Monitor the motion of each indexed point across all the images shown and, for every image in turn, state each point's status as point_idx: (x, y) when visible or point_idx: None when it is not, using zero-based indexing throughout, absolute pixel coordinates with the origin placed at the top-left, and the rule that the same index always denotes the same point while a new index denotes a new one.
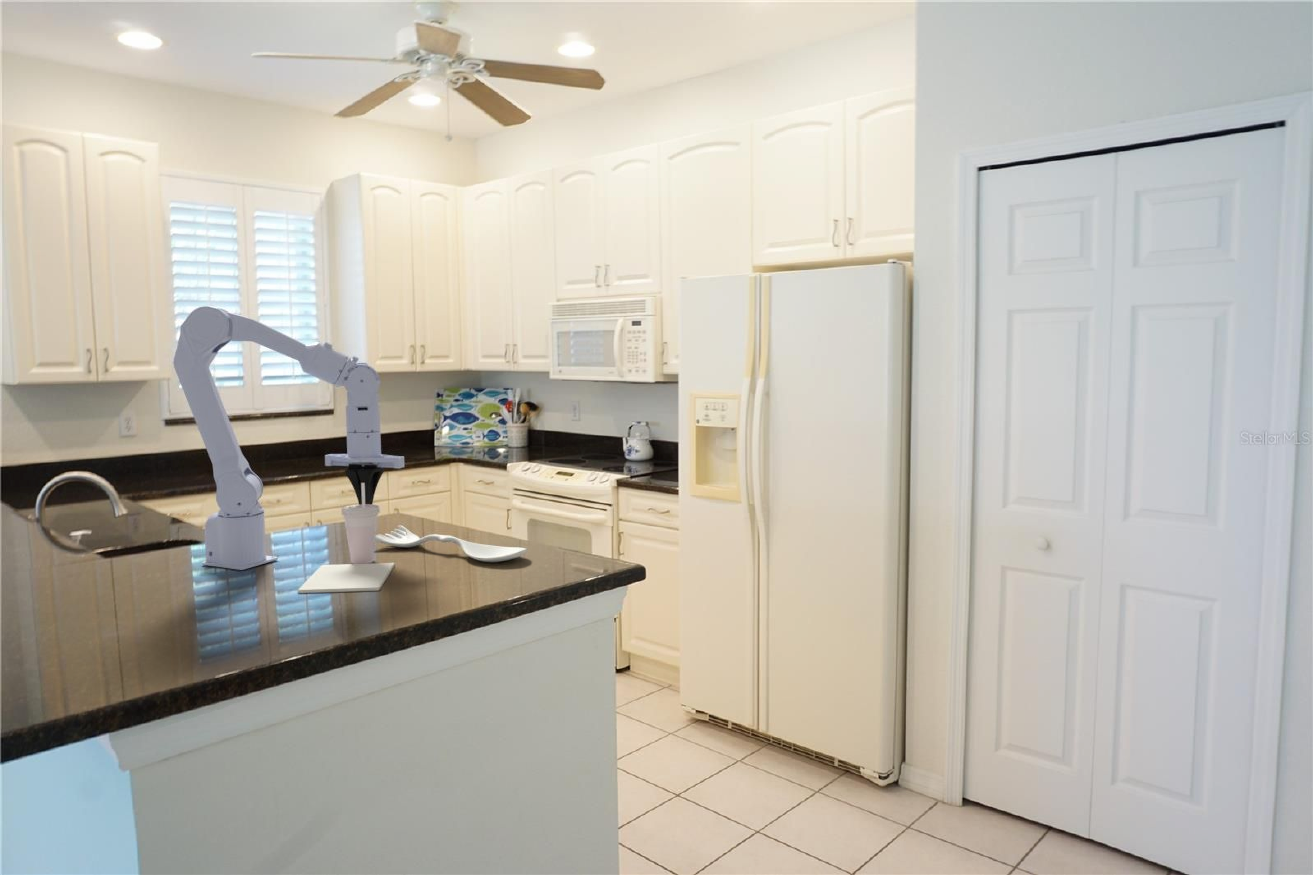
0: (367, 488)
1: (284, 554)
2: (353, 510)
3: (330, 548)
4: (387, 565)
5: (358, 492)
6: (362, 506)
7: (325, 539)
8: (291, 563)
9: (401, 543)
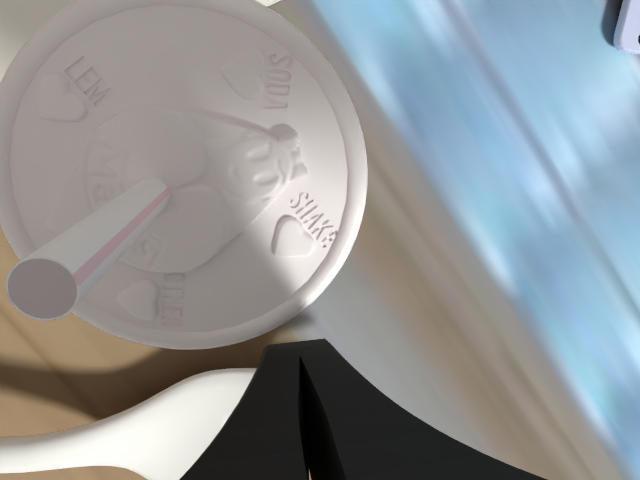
0: (210, 444)
1: (635, 155)
2: (167, 40)
3: (502, 302)
4: (3, 57)
5: (338, 393)
6: (153, 178)
7: (596, 412)
8: (525, 18)
9: (179, 389)
